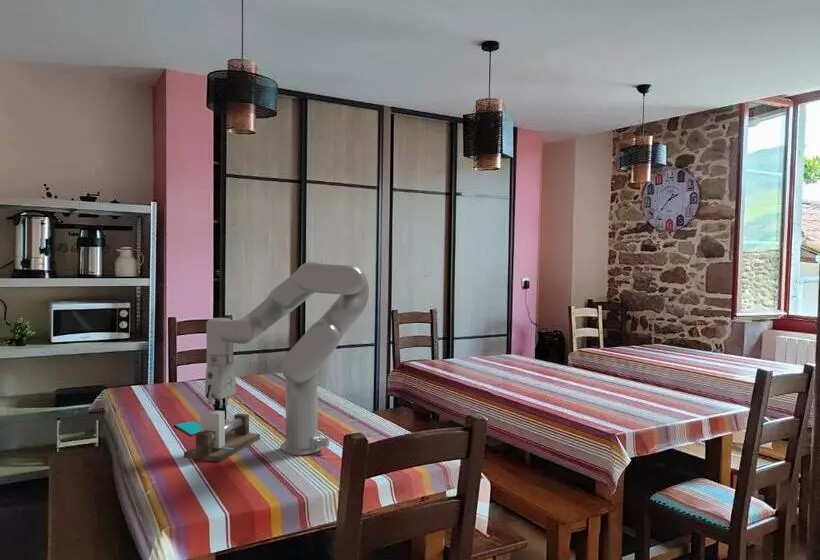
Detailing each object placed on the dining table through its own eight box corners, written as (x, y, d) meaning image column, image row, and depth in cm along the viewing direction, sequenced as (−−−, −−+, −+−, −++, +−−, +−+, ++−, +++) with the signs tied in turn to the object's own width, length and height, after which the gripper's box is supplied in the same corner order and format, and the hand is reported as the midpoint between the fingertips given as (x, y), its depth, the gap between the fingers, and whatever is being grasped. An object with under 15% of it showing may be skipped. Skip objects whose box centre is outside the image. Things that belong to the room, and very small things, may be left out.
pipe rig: (260, 438, 189) (260, 415, 188) (220, 461, 168) (220, 435, 167) (227, 435, 192) (226, 412, 192) (183, 457, 171) (183, 432, 170)
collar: (224, 445, 175) (224, 411, 174) (219, 448, 172) (218, 413, 171) (206, 443, 176) (206, 409, 176) (200, 446, 174) (200, 412, 173)
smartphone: (191, 434, 191) (173, 424, 202) (191, 437, 191) (173, 427, 202) (213, 430, 196) (194, 420, 207) (213, 433, 196) (194, 423, 207)
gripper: (216, 364, 169) (216, 428, 169) (244, 356, 183) (244, 414, 184) (193, 363, 171) (194, 425, 171) (223, 354, 185) (223, 412, 186)
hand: (220, 419), depth 178 cm, fingers closed
